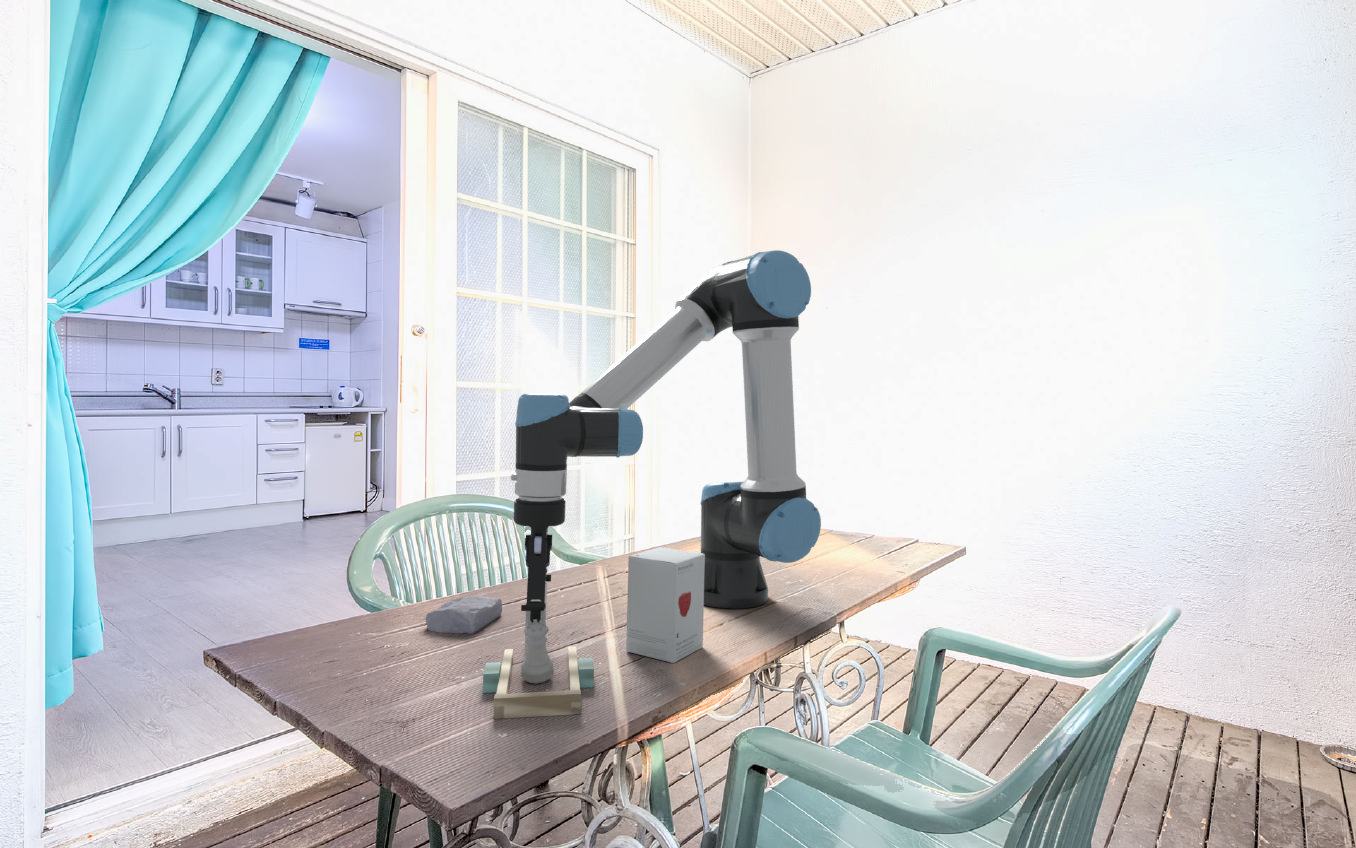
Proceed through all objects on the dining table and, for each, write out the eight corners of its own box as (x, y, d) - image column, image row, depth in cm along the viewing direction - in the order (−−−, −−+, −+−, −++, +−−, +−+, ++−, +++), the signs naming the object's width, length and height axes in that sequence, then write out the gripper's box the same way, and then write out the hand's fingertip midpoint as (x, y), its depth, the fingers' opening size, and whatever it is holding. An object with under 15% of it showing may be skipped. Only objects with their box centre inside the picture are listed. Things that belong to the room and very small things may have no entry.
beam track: (490, 659, 105) (491, 643, 104) (589, 655, 107) (589, 639, 107) (476, 720, 85) (476, 699, 85) (597, 713, 87) (597, 693, 87)
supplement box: (674, 665, 104) (675, 563, 103) (624, 652, 109) (626, 555, 108) (705, 647, 112) (706, 552, 111) (657, 636, 116) (659, 545, 116)
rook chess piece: (522, 665, 100) (521, 615, 97) (555, 664, 100) (554, 614, 98) (519, 685, 95) (517, 634, 93) (552, 684, 96) (551, 633, 94)
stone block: (421, 642, 117) (476, 635, 115) (416, 613, 117) (472, 606, 115) (456, 623, 129) (507, 616, 127) (452, 597, 129) (503, 589, 127)
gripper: (518, 485, 117) (515, 613, 118) (508, 510, 93) (503, 671, 93) (564, 486, 118) (560, 612, 119) (566, 511, 94) (561, 670, 95)
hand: (535, 638), depth 106 cm, fingers open, 13 cm apart
